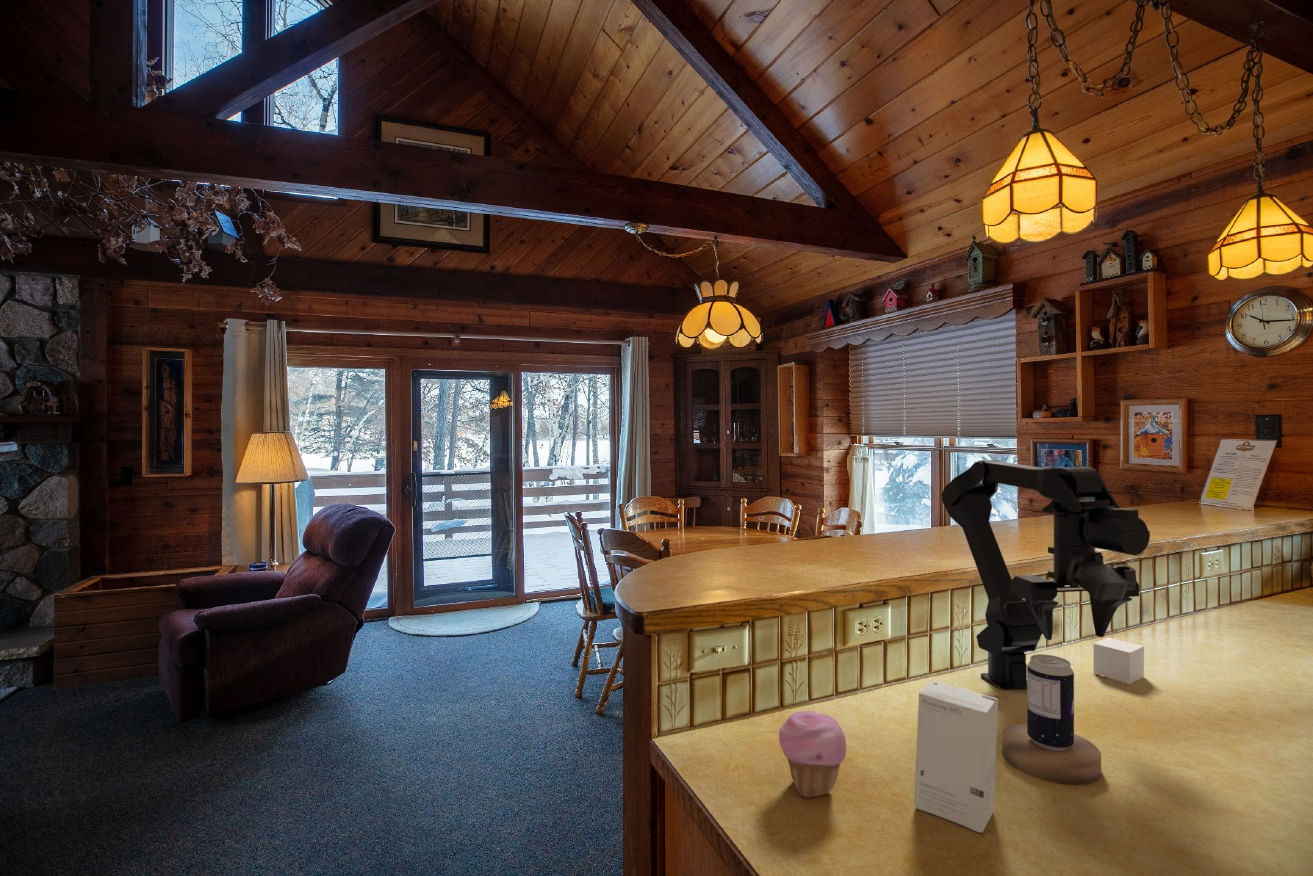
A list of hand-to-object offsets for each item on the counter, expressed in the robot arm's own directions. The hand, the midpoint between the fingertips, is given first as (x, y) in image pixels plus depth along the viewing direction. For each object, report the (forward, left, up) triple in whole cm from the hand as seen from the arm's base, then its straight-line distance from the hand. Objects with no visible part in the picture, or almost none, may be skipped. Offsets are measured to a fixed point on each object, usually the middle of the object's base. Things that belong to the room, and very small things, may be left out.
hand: (1074, 638), depth 103 cm
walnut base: (+12, -14, -13) cm, 22 cm away
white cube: (-14, +21, -13) cm, 29 cm away
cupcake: (+14, -50, -13) cm, 53 cm away
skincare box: (+21, -34, -13) cm, 42 cm away
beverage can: (+12, -14, -11) cm, 21 cm away
